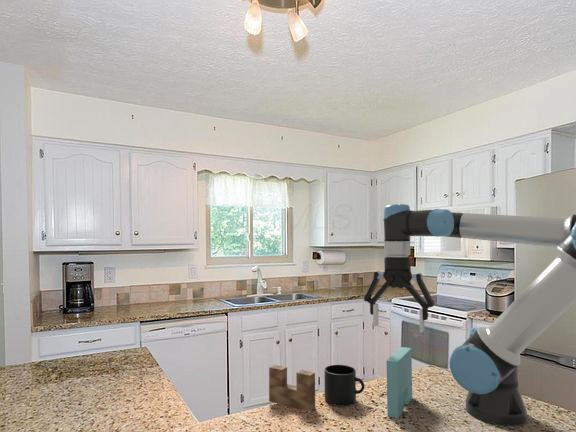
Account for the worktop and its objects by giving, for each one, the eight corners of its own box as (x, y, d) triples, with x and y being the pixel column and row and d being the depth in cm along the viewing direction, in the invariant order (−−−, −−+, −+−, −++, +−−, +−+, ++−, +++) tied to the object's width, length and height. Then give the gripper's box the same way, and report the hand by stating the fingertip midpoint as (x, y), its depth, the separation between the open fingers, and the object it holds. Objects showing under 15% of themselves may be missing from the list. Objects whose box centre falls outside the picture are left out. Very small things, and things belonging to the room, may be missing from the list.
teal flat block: (402, 396, 121) (401, 346, 122) (412, 398, 119) (411, 348, 120) (387, 416, 107) (386, 360, 108) (398, 418, 105) (397, 362, 106)
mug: (363, 409, 111) (362, 377, 112) (322, 404, 114) (321, 373, 115) (365, 396, 120) (365, 366, 121) (327, 392, 124) (327, 363, 124)
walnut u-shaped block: (315, 407, 112) (315, 372, 113) (310, 411, 110) (310, 375, 110) (274, 397, 119) (274, 364, 120) (269, 401, 117) (269, 367, 117)
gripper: (443, 256, 113) (445, 331, 111) (361, 254, 125) (362, 321, 124) (439, 257, 106) (440, 336, 105) (353, 255, 119) (353, 325, 118)
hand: (398, 328), depth 115 cm, fingers open, 13 cm apart
